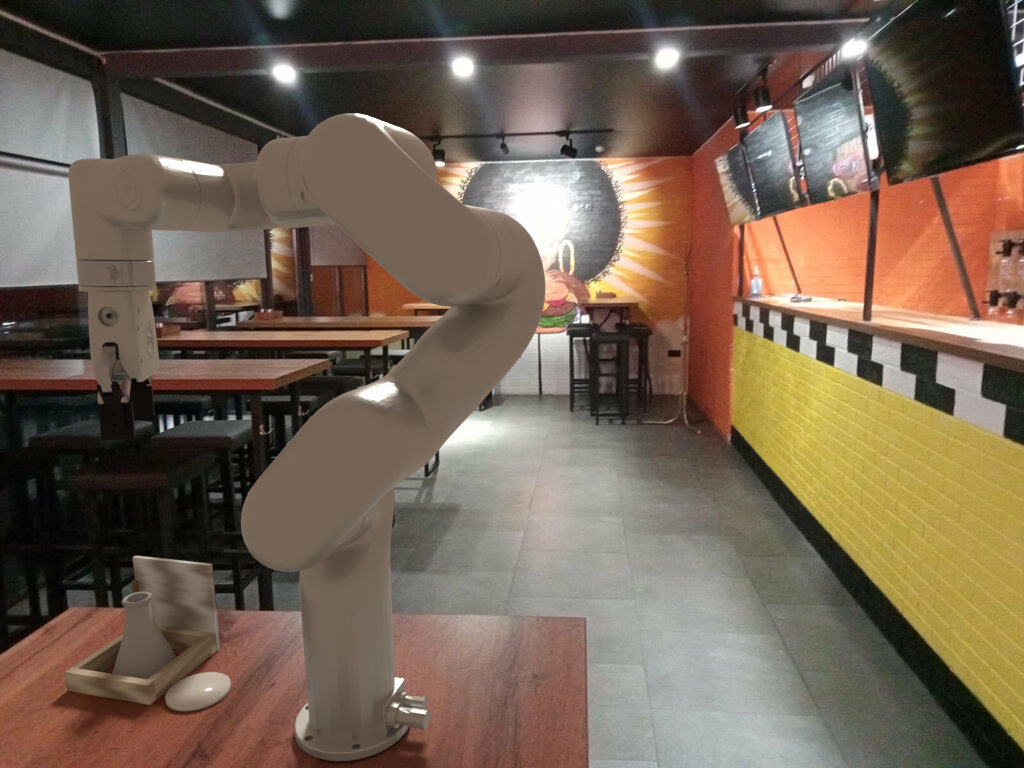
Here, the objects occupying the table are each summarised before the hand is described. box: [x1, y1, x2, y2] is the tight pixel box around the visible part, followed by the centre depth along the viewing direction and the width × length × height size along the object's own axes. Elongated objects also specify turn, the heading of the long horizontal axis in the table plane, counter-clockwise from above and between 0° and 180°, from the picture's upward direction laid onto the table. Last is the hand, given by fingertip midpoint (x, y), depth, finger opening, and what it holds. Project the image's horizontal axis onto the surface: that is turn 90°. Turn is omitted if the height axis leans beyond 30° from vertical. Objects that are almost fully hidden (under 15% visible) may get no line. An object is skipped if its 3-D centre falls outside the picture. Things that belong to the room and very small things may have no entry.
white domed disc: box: [164, 671, 232, 713], centre depth 86 cm, size 7×7×1 cm
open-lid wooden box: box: [64, 555, 221, 706], centre depth 90 cm, size 12×13×12 cm
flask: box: [111, 592, 178, 679], centre depth 90 cm, size 7×7×10 cm
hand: (129, 428), depth 82 cm, fingers open, 9 cm apart
